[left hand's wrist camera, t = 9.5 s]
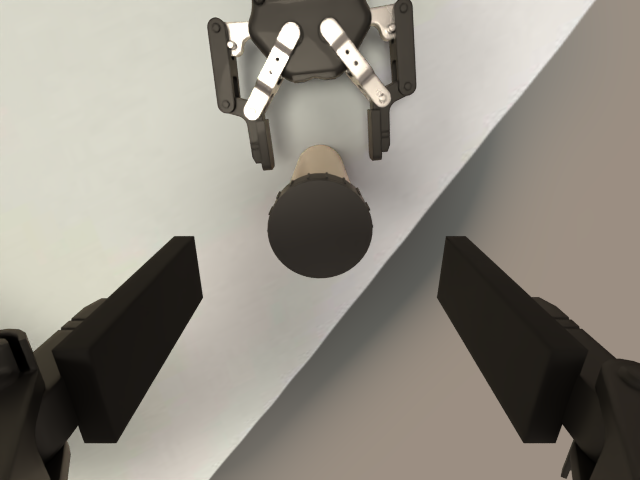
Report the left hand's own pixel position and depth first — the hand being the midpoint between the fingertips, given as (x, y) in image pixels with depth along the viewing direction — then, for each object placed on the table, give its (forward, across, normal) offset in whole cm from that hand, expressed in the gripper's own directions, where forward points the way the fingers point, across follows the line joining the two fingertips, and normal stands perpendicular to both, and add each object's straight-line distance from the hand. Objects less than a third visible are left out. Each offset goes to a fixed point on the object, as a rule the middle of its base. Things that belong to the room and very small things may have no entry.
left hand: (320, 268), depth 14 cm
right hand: (+16, 0, +2) cm, 16 cm away
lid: (+4, 0, 0) cm, 4 cm away
